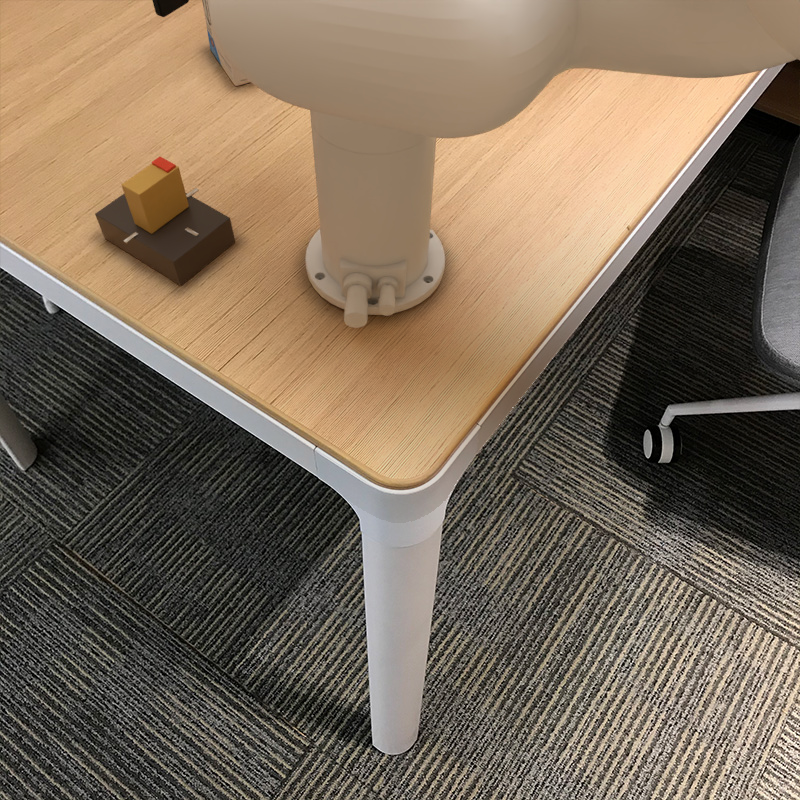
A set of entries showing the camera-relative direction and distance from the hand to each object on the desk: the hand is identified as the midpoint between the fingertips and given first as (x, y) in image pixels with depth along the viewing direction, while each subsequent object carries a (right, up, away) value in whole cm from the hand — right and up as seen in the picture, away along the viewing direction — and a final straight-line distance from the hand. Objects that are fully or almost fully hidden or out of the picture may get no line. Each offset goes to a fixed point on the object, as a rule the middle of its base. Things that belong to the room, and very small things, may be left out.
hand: (220, 26), depth 59 cm
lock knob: (-7, -12, +10) cm, 17 cm away
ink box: (-4, +10, +29) cm, 31 cm away
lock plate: (-8, -14, +12) cm, 20 cm away
